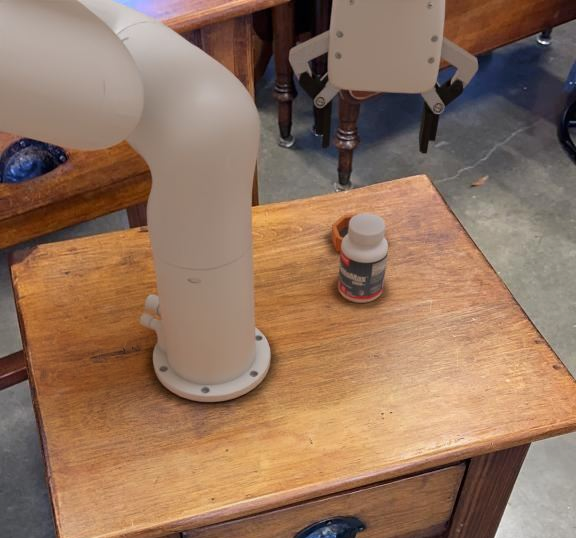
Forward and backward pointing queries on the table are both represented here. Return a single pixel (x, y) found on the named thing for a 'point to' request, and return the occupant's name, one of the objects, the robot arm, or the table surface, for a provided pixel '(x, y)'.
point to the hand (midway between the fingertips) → (374, 143)
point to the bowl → (340, 230)
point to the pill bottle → (363, 259)
